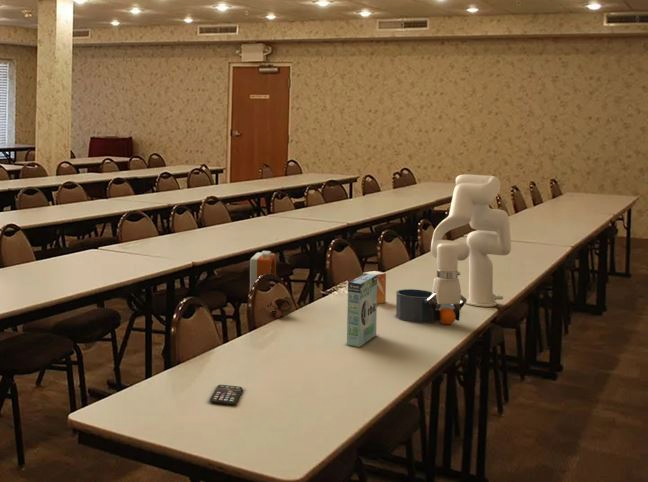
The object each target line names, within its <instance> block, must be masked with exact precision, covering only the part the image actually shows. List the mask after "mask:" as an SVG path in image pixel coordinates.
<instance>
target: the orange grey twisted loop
mask: <svg viewBox="0 0 648 482" xmlns="http://www.w3.org/2000/svg"><path fill="white" fill-rule="evenodd" d="M285 303H286V304H287V305H288V307H286V308H285V307H283V306H282V305H283V304H285ZM271 305H272V307H273V308H274V310H275V311H272V312H270V313H271V314H274V313H275V314H274V316H275V318H276V319H279V318H281V317H284V316H287V315H289V314H290V313H291V312H292V311H293V307H292V303H291V301H290V300H289V299H287V298H284V297H276V298H274V300H272V302H271V303H270V306H271Z"/></svg>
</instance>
